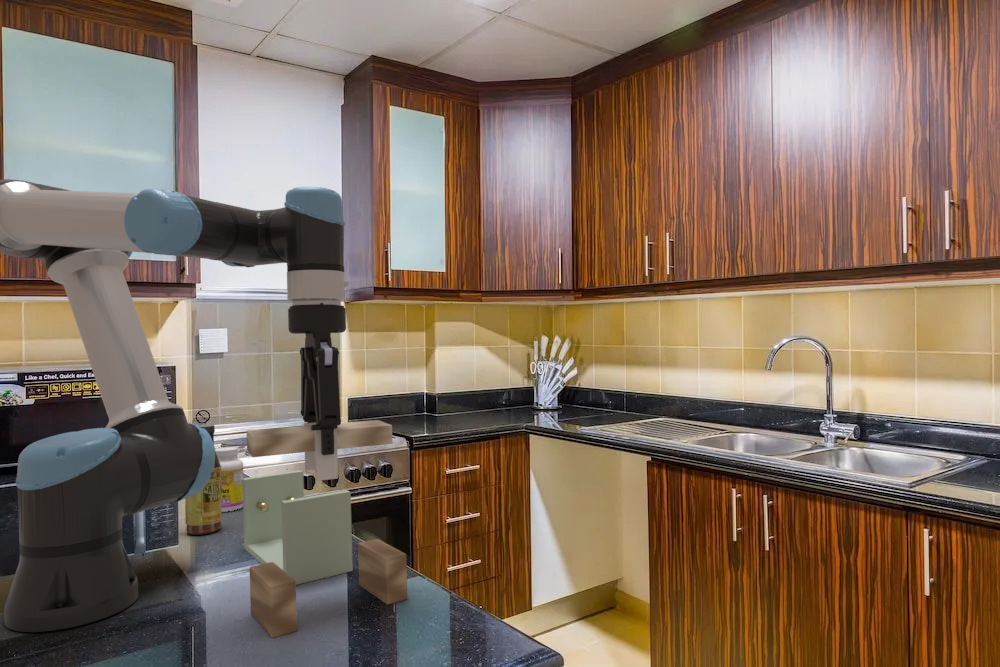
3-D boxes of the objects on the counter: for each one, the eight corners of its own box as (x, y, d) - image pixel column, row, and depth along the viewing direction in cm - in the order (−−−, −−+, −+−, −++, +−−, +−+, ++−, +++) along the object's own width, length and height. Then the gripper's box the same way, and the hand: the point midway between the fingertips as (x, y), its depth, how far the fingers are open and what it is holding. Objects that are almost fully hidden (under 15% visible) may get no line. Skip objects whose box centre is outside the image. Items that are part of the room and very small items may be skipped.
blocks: (271, 637, 78) (270, 587, 78) (250, 613, 86) (249, 567, 86) (407, 598, 89) (406, 554, 89) (378, 580, 96) (377, 538, 96)
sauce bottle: (208, 536, 121) (205, 428, 121) (178, 535, 122) (175, 428, 122) (229, 526, 127) (226, 423, 127) (201, 525, 128) (198, 423, 129)
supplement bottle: (203, 512, 139) (201, 450, 139) (226, 504, 145) (224, 445, 145) (229, 513, 137) (227, 451, 137) (251, 505, 143) (249, 446, 143)
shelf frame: (352, 570, 100) (350, 491, 101) (286, 587, 95) (284, 503, 95) (302, 537, 119) (300, 470, 119) (244, 548, 113) (242, 478, 113)
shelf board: (252, 457, 82) (252, 437, 82) (246, 449, 89) (246, 430, 89) (392, 443, 90) (392, 425, 90) (378, 437, 97) (377, 420, 97)
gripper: (363, 300, 82) (367, 484, 82) (329, 307, 100) (333, 459, 100) (301, 299, 79) (305, 492, 79) (277, 307, 97) (281, 464, 97)
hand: (320, 473), depth 90 cm, fingers closed on shelf board, 7 cm apart
